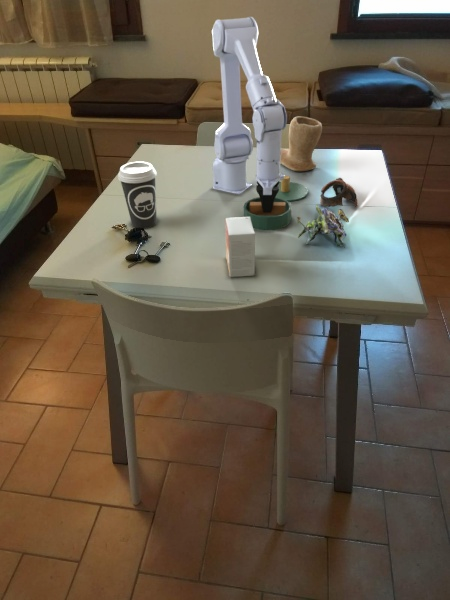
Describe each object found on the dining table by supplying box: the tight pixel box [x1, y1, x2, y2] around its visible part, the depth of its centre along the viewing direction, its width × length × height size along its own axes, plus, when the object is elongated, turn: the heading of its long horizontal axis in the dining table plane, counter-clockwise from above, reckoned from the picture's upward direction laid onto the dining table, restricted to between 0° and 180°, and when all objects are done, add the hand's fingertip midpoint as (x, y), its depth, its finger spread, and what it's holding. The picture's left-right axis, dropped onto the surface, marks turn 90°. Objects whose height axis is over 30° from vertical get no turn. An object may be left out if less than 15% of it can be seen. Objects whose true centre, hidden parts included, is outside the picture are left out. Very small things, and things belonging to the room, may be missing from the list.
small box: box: [224, 216, 256, 278], centre depth 104 cm, size 8×6×10 cm
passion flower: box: [296, 204, 350, 248], centre depth 112 cm, size 11×11×12 cm
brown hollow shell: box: [319, 177, 359, 208], centre depth 129 cm, size 12×10×8 cm
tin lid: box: [276, 175, 309, 203], centre depth 136 cm, size 13×13×5 cm
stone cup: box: [280, 115, 323, 172], centre depth 151 cm, size 15×12×15 cm
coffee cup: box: [117, 161, 158, 229], centre depth 122 cm, size 10×10×15 cm
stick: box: [250, 202, 285, 216], centre depth 123 cm, size 9×2×3 cm, turn 85°
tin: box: [242, 196, 293, 231], centre depth 124 cm, size 12×12×4 cm
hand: (267, 209), depth 123 cm, fingers closed on stick, 2 cm apart
